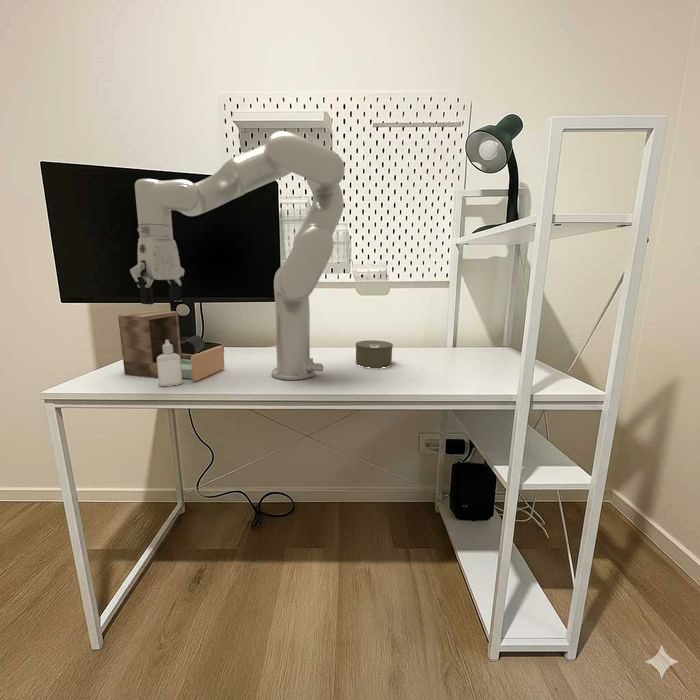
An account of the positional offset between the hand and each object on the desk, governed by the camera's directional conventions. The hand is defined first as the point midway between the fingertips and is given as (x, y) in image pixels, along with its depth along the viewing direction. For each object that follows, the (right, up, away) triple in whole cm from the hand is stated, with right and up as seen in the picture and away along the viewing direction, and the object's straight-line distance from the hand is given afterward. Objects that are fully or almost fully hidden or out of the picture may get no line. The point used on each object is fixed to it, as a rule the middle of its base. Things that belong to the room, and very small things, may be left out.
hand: (162, 302), depth 101 cm
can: (+56, -17, +26) cm, 64 cm away
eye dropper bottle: (+1, -22, +2) cm, 22 cm away
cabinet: (-7, -19, +15) cm, 25 cm away
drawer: (+2, -19, +12) cm, 23 cm away
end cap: (-6, -15, +33) cm, 37 cm away
